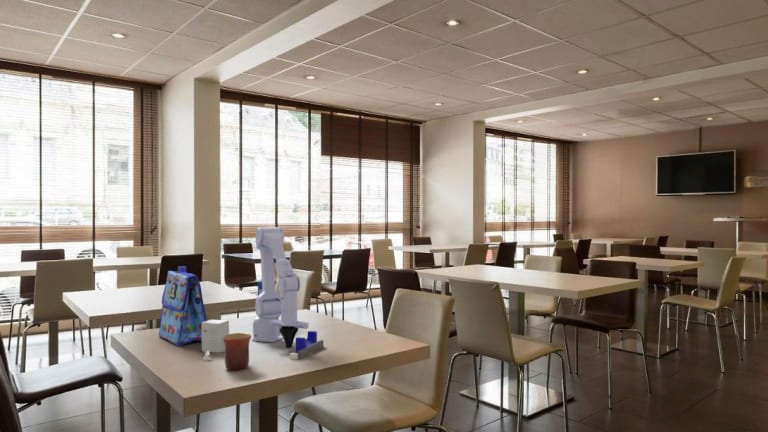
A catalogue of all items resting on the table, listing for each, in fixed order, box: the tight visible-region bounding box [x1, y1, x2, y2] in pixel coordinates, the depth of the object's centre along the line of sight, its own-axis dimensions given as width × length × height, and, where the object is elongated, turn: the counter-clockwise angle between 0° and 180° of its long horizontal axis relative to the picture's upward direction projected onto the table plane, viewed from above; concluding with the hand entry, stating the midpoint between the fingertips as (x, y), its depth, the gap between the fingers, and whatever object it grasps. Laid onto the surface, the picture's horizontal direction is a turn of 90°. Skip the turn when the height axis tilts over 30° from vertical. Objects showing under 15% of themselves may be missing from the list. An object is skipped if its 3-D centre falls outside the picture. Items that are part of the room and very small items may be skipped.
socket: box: [289, 339, 325, 361], centre depth 184 cm, size 4×19×2 cm, turn 161°
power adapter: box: [202, 351, 212, 362], centre depth 175 cm, size 3×3×3 cm
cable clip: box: [295, 330, 318, 353], centre depth 186 cm, size 12×4×6 cm, turn 165°
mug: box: [223, 332, 252, 372], centre depth 166 cm, size 12×9×10 cm
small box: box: [201, 319, 230, 354], centre depth 187 cm, size 8×6×10 cm
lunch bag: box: [158, 265, 208, 347], centre depth 205 cm, size 22×14×29 cm, turn 41°
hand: (289, 347), depth 186 cm, fingers closed
